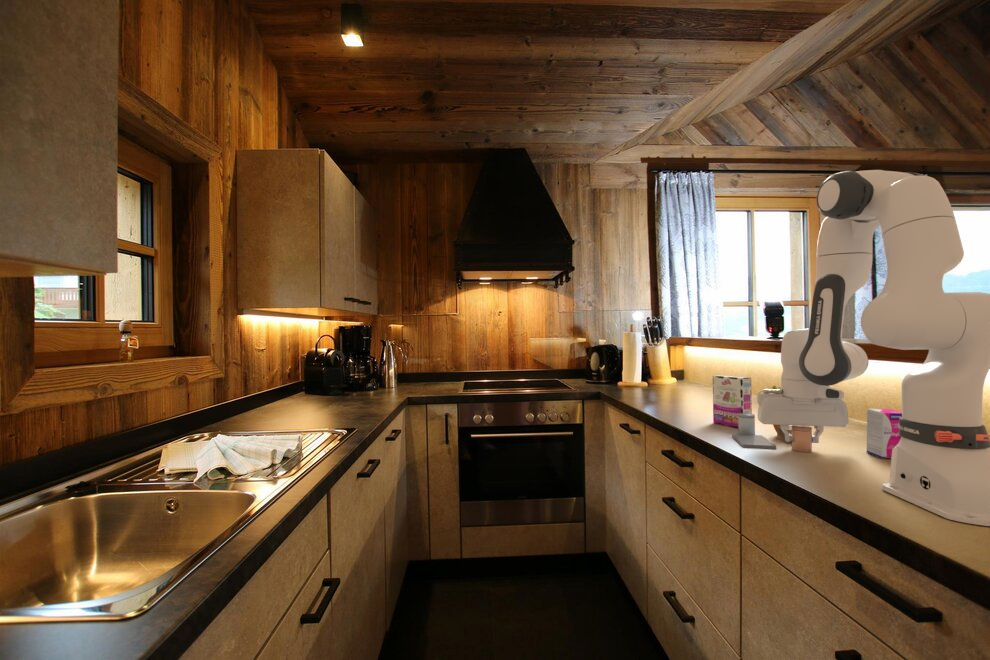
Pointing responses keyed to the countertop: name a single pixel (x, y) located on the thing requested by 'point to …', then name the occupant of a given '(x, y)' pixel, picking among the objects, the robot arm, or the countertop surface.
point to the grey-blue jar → (746, 424)
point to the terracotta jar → (802, 438)
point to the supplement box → (882, 431)
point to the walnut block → (781, 434)
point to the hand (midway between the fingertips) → (801, 442)
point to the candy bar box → (730, 399)
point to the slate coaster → (753, 441)
